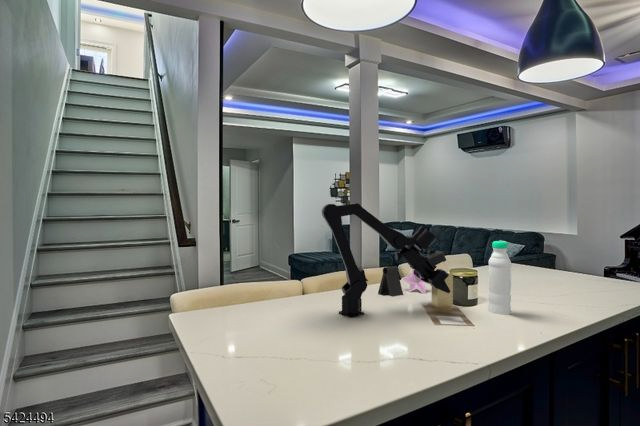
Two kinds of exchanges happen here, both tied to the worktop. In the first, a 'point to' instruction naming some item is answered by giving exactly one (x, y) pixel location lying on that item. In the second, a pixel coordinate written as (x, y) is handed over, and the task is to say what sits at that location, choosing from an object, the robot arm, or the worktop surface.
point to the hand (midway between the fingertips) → (445, 290)
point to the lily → (415, 282)
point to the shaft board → (448, 317)
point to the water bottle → (499, 279)
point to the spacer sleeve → (443, 296)
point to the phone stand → (390, 282)
